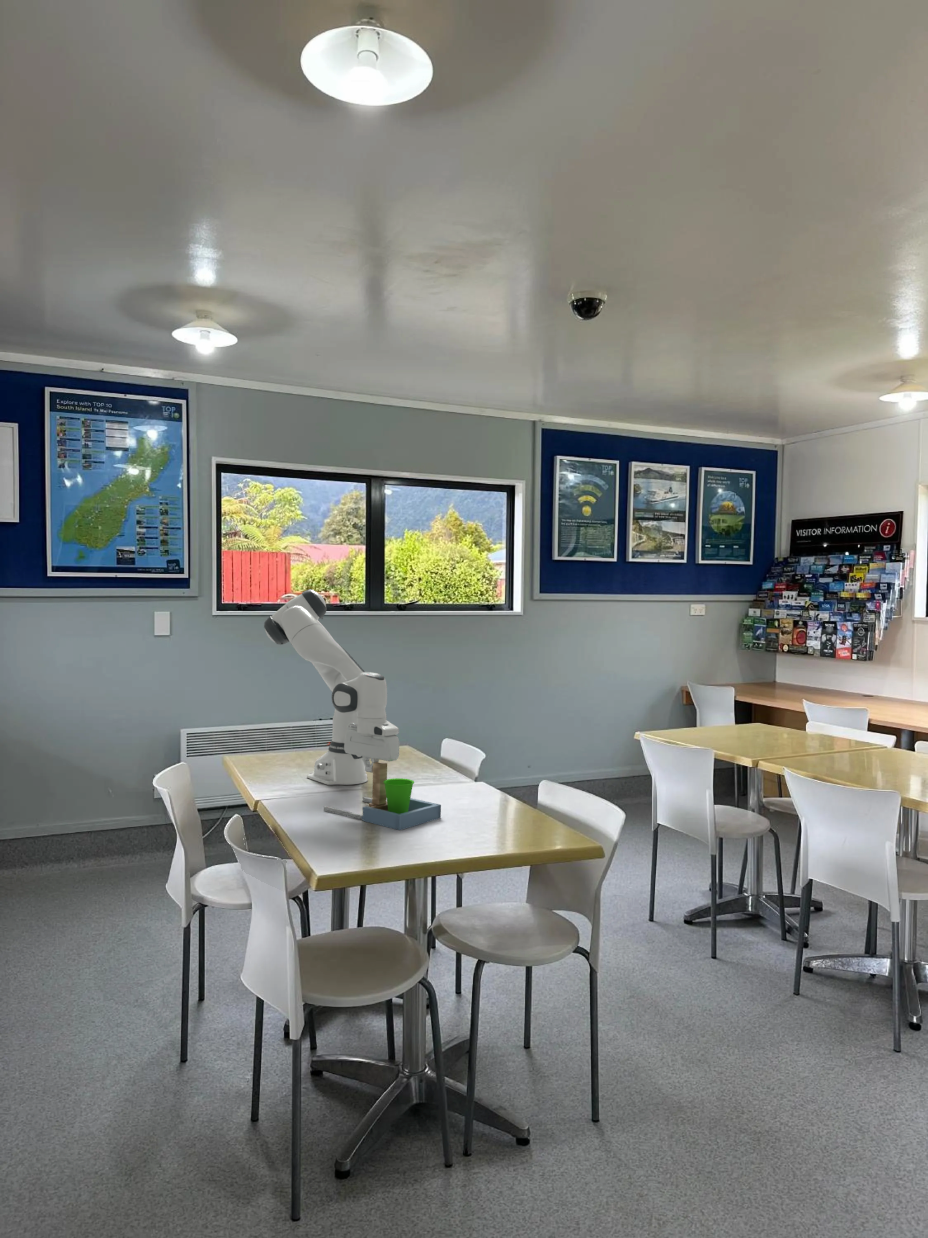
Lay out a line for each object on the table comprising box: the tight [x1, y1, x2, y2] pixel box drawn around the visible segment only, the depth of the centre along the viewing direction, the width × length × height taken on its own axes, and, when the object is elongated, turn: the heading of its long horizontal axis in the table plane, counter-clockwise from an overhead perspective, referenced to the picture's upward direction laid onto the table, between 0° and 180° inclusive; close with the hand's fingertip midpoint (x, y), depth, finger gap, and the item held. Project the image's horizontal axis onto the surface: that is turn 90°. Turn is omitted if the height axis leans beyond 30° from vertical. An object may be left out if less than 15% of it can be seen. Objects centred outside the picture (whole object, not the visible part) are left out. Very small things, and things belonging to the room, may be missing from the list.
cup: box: [383, 777, 415, 814], centre depth 246 cm, size 9×9×11 cm
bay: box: [362, 797, 442, 831], centre depth 246 cm, size 14×18×4 cm
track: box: [323, 796, 372, 821], centre depth 255 cm, size 16×18×1 cm
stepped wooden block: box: [368, 761, 388, 811], centre depth 251 cm, size 5×12×15 cm, turn 142°
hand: (370, 772), depth 253 cm, fingers closed
